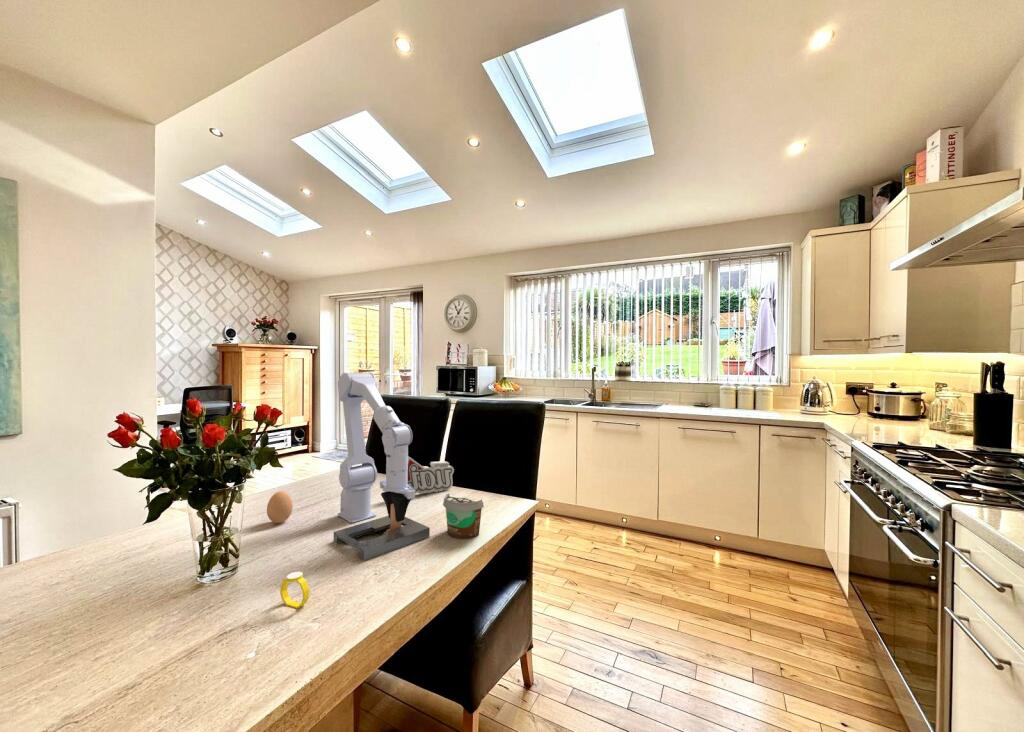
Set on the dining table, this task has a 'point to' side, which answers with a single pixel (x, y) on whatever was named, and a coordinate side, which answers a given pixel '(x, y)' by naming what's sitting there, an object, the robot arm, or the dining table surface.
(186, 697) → the dining table surface
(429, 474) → the decorative sign
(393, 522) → the peg
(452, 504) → the food container
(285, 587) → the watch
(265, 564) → the dining table surface
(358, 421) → the robot arm
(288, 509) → the egg
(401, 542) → the keyhole plate
